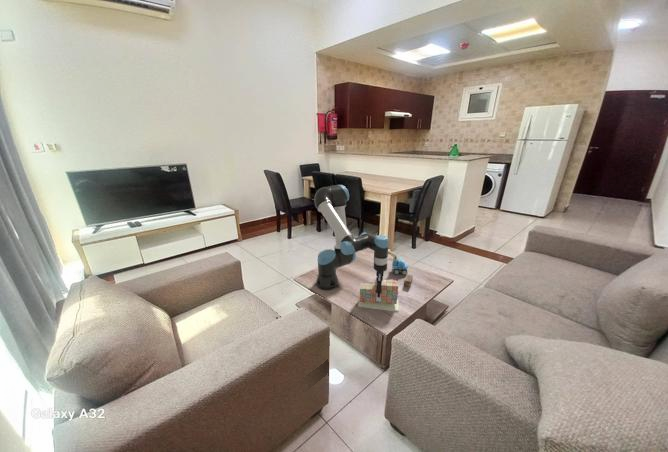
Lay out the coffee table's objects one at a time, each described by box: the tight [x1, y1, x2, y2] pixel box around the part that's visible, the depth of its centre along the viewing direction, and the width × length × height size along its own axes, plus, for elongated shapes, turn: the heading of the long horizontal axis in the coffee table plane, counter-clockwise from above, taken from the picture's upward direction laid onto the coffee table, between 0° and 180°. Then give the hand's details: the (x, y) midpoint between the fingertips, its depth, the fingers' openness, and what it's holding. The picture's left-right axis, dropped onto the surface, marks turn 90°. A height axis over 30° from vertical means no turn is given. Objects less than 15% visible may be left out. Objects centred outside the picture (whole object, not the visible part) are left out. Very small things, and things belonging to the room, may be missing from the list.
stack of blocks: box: [359, 278, 399, 304], centre depth 149 cm, size 21×6×12 cm, turn 84°
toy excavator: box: [388, 248, 409, 276], centre depth 183 cm, size 9×17×17 cm, turn 80°
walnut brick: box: [403, 273, 414, 289], centre depth 170 cm, size 4×8×5 cm, turn 154°
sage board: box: [357, 298, 399, 312], centre depth 152 cm, size 23×10×1 cm, turn 77°
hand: (378, 297), depth 151 cm, fingers closed on stack of blocks, 7 cm apart
